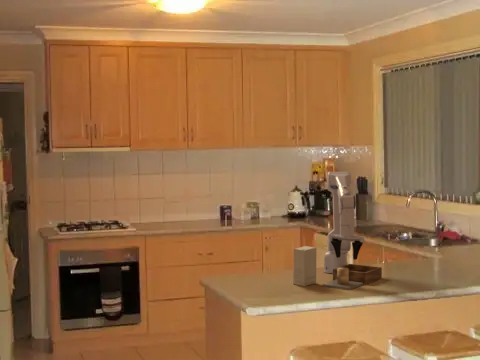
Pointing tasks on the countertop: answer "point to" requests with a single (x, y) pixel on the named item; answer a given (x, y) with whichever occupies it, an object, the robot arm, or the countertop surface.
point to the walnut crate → (361, 273)
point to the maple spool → (342, 276)
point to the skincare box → (304, 266)
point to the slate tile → (348, 286)
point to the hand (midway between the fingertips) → (346, 258)
